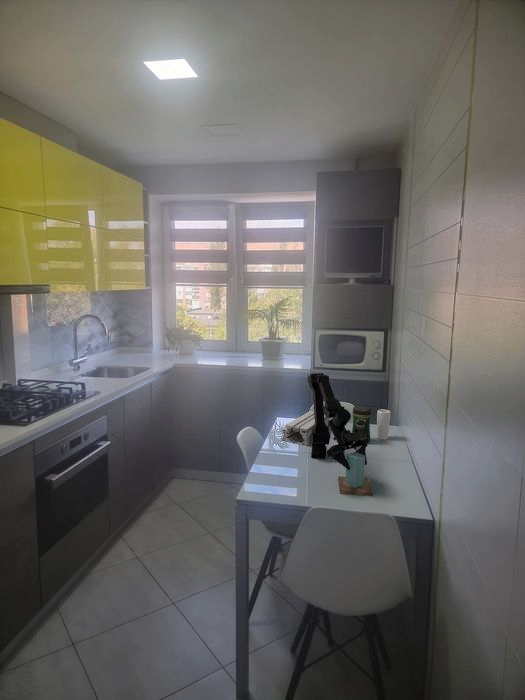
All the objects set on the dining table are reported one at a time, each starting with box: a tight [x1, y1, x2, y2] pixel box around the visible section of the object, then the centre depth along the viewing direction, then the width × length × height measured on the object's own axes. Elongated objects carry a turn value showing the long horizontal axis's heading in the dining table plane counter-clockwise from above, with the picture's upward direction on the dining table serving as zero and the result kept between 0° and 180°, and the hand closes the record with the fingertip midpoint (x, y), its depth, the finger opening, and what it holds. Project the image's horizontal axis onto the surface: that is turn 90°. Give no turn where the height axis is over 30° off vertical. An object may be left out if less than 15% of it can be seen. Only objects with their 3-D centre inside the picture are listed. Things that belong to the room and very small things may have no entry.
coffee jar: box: [351, 405, 372, 443], centre depth 221 cm, size 10×8×19 cm
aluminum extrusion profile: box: [280, 410, 330, 447], centre depth 229 cm, size 14×31×10 cm, turn 150°
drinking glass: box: [376, 408, 392, 441], centre depth 226 cm, size 7×7×15 cm
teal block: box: [345, 451, 366, 488], centre depth 169 cm, size 5×5×12 cm
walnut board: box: [337, 475, 373, 497], centre depth 170 cm, size 12×12×2 cm
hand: (358, 467), depth 168 cm, fingers open, 9 cm apart
